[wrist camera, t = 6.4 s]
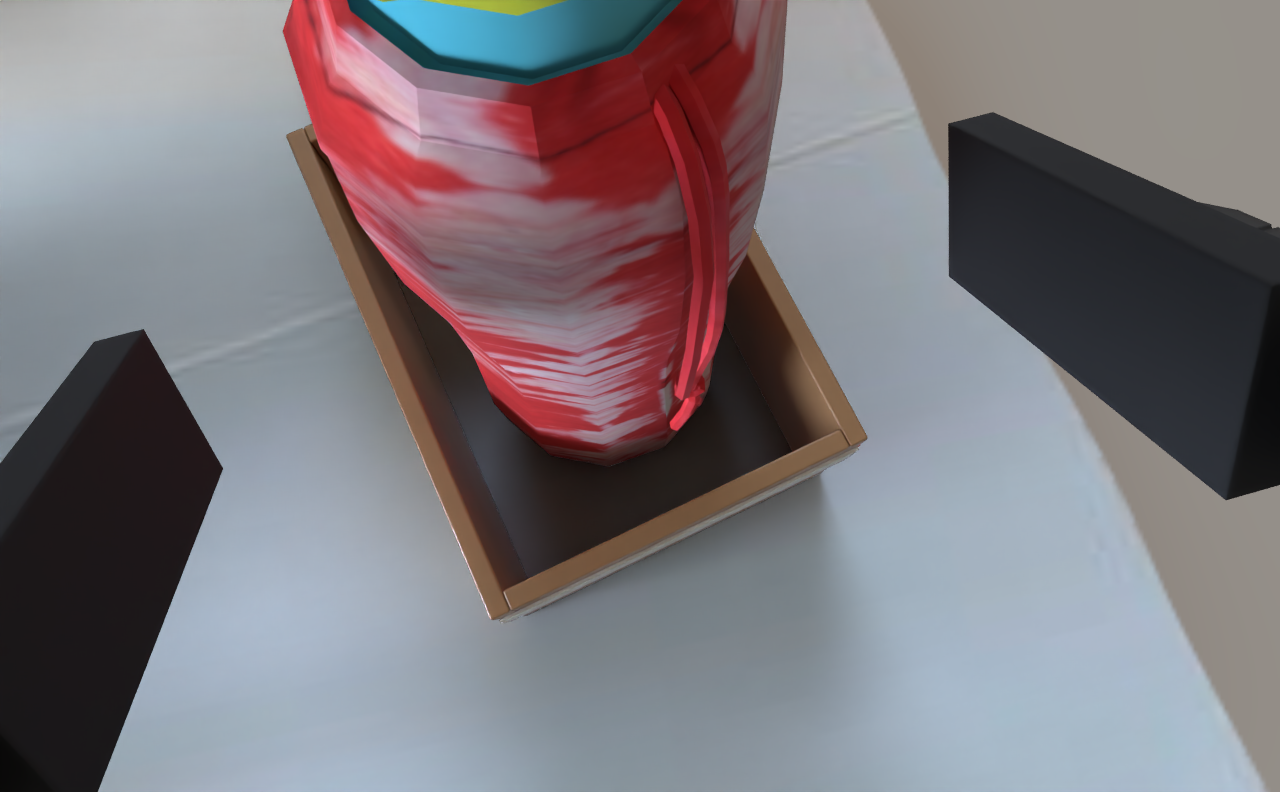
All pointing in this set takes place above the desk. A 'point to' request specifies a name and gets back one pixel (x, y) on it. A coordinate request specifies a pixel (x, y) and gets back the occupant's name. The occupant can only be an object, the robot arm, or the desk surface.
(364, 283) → the wooden box
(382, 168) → the water bottle
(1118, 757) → the desk surface
